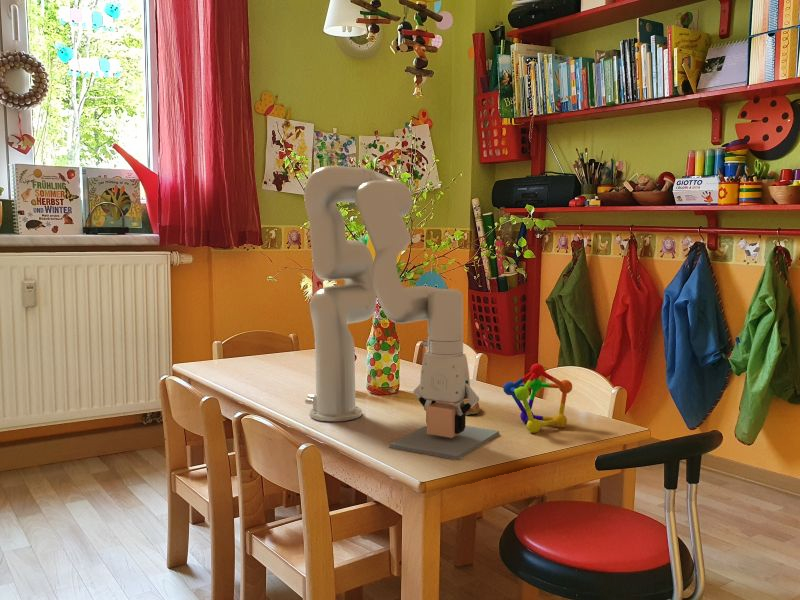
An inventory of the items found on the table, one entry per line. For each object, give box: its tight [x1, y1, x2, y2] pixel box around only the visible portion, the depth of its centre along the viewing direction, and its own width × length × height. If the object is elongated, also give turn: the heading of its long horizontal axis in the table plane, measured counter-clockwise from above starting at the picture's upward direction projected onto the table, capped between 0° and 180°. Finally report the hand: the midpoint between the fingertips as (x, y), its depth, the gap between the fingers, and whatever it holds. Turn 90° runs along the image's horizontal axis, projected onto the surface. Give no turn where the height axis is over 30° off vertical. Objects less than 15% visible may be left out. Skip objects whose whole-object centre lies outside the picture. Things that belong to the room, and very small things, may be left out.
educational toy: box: [502, 363, 573, 434], centre depth 167 cm, size 16×13×15 cm
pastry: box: [464, 398, 480, 416], centre depth 182 cm, size 9×7×4 cm
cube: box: [426, 401, 465, 438], centre depth 157 cm, size 6×6×6 cm
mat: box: [389, 425, 500, 461], centre depth 158 cm, size 16×20×1 cm
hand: (445, 429), depth 157 cm, fingers closed on cube, 6 cm apart
